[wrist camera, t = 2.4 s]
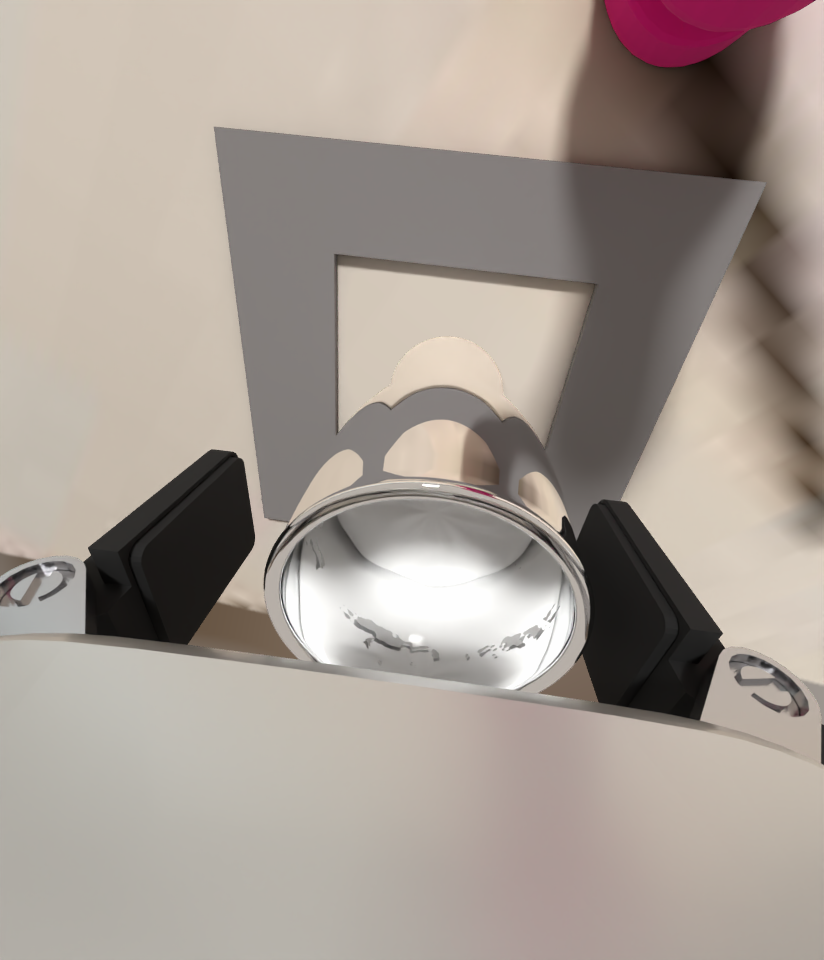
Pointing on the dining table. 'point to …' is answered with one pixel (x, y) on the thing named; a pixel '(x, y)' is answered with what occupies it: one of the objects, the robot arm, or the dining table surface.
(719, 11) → the pepper mill
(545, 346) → the dining table surface
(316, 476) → the beer glass
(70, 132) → the dining table surface
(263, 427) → the letter o mat
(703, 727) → the robot arm
